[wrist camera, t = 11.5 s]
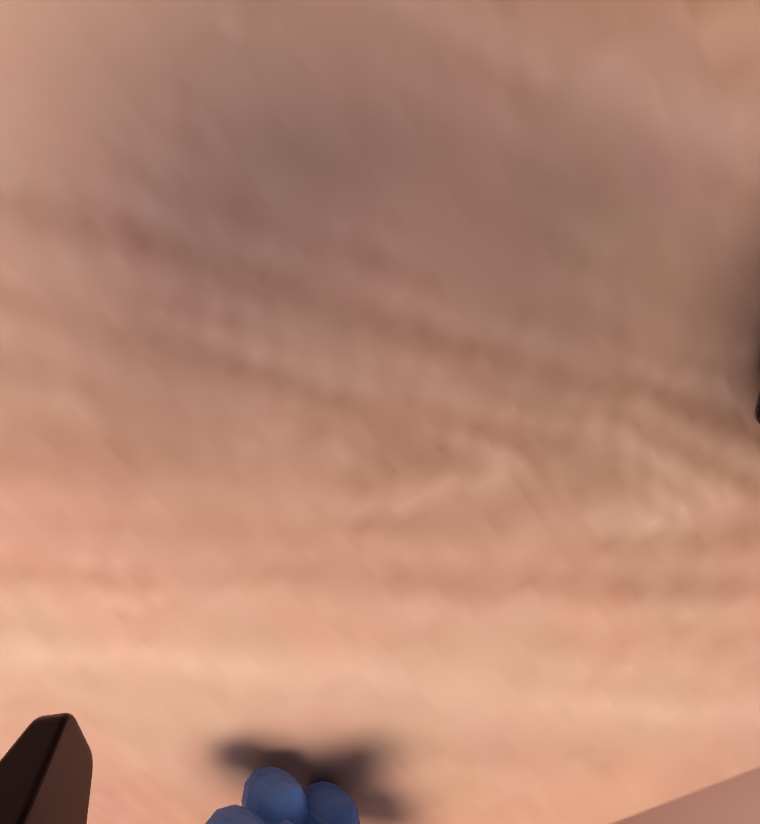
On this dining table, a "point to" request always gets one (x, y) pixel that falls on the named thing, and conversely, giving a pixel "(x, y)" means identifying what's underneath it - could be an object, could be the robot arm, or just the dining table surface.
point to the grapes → (288, 802)
